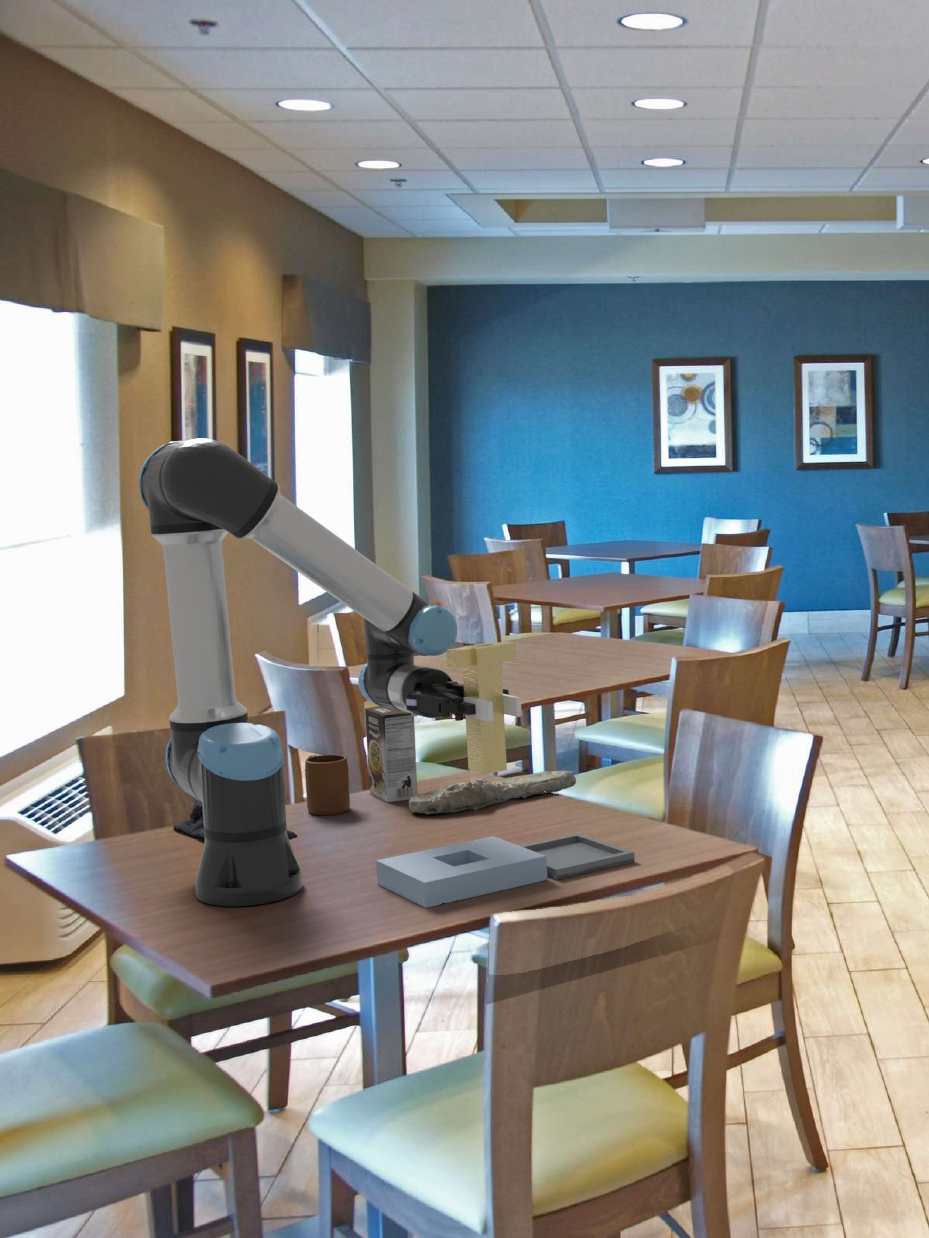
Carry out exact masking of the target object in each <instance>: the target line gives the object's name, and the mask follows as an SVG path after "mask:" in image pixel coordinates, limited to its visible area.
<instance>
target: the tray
mask: <svg viewBox="0 0 929 1238" xmlns="http://www.w3.org/2000/svg"><path fill="white" fill-rule="evenodd" d="M520 846H521V847H524V848H527V849H529V850H532V851H535V852H537V853H540V854H543V855H545V856H546V860H547V878H551V879H553V880H555V881H559V880H564V879H567V878H571V877H576V876H580V875H581V876H582V875H584V874H585V875H586V874H588V873H593V872H598V871H603V870H606V869H610V868H614V867H615V868H616V867H619V866H625V865H628V864H633V863H635V862H636V861H635V851H632V850H629V849H626V848H623V847H621V846H620V847H619V846H617V845H614V844H611V843H608V842H606V841H603V840H600V839H596V838H594V837H591V836H588V835H585V834H582V833H573V834H570V835H569V834H568V835H564V836H559V837H555V838H549V839H545V840H540V841H535V842H532V843H526V844H521V845H520Z"/></svg>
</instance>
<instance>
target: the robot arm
mask: <svg viewBox="0 0 929 1238" xmlns="http://www.w3.org/2000/svg"><path fill="white" fill-rule="evenodd" d="M138 490H139V491H138V492H139V494H140V498H141V500H142V502H143V504H144V506H145V507H146V509H147V510H148V515H149V517H148V518H149V524H150V525H149V527H150V535H151V537H152V538H153V539H155V540H156V542H158V543H159V544H160V545H161V546H162V551H163V553H162V554H163V560H164V570H165V571H164V572H165V583H166V592H167V600H168V601H167V602H168V613H169V620H170V621H169V622H170V624H169V625H170V633H171V642H172V643H171V644H172V653H173V655H172V656H173V663H174V673H175V683H176V694H177V703H178V704H177V707H176V708H175V709H174V710H173V711H172V713H171V714H170V715H169V718H168V720H169V727H170V730H169V731H170V738H169V739H168V742H167V745H166V749H165V764H166V768H167V771H168V774H169V775H170V777H171V779H172V780H173V782H174V784H176V786H177V787H178V789H180V790H181V792H183V793H185V794H187V795H188V796H189V797H191V798H193V799H195V800H199V801H201V802H202V806H203V820H204V834H205V839H204V844H203V847H202V853H201V856H200V861H199V863H198V867H197V872H196V876H195V879H194V880H195V881H194V885H195V897H196V900H197V899H198V900H199V901H200V902H201V903H205V904H208V905H213V906H218V907H219V906H220V907H249V906H257V905H263V904H270V903H272V902H278V901H281V900H284V899H287V898H289V897H292V896H294V895H296V894H297V893H299V891H301V890H302V888H303V877H302V869H301V867H300V864H299V861H298V860H297V859H298V858H297V857H296V854H295V852H294V849H293V846H292V843H291V841H290V839H288V836H287V830H288V829H287V813H286V794H285V779H284V778H285V777H284V773H285V772H284V759H285V756H284V751H283V748H282V742H281V741H282V740H281V738H280V735H279V734H278V733H277V731H276V730H274V729H272V728H271V727H269V726H267V725H263V724H254V723H251V722H249V715H248V708H247V707H246V706H244V705H243V704H242V703H241V702H240V701H239V700H238V699H237V695H236V685H235V684H236V683H235V675H234V665H233V663H234V661H233V652H232V642H231V641H232V640H231V630H230V619H229V610H228V609H229V607H228V599H227V588H226V587H227V586H226V578H225V576H226V575H225V565H224V555H223V553H224V552H223V545H222V544H223V543H222V542H223V540H224V539H225V537H226V536H227V535H228V533H230V534H231V535H232V536H234V537H235V538H237V539H238V540H239V541H241V540H247V539H250V540H252V541H253V542H255V543H256V544H257V545H259V546H260V547H262V548H264V549H265V550H266V551H268V552H269V553H270V554H272V555H274V556H275V557H276V558H277V559H279V560H281V561H282V562H283V563H285V564H286V565H288V566H289V567H291V568H292V569H294V570H295V571H296V572H298V573H299V574H301V575H302V576H303V577H305V578H306V579H308V580H309V581H310V582H312V583H313V584H314V585H316V586H317V587H319V588H320V589H322V590H323V591H325V592H326V593H328V594H329V595H331V596H332V597H333V598H335V599H336V600H338V601H339V602H341V603H342V604H343V605H345V606H346V607H347V608H349V609H351V610H352V611H354V612H355V613H356V614H358V615H359V616H360V617H362V618H363V625H364V627H363V628H364V636H365V637H364V638H365V647H366V663H365V664H364V665H363V667H362V668H361V671H360V673H359V676H358V679H357V680H358V682H357V683H358V689H359V691H360V693H361V695H362V696H363V697H364V699H365V700H367V701H368V702H371V703H372V704H375V705H376V706H377V707H379V706H380V707H384V708H391V709H396V710H400V711H404V712H409V713H412V716H413V717H414V718H417V717H419V716H420V717H423V718H427V719H434V718H435V719H436V718H439V717H441V718H442V717H444V718H448V717H450V716H451V714H452V715H453V716H454V721H456V722H457V721H458V722H459V721H460V722H461V721H464V716H465V717H466V716H467V717H471V718H475V719H479V720H483V721H488V722H491V721H493V703H492V702H491V701H486V700H481V699H476V698H471V697H464V683H458V681H453V680H452V678H451V677H450V676H449V675H448V673H446V672H445V671H443V670H442V669H438V668H431V667H428V666H424V665H417V664H415V657H414V655H415V654H418V655H419V656H421V657H428V656H429V657H430V656H431V657H432V656H433V657H437V656H440V655H443V654H446V653H447V652H446V650H447V649H452V647H453V646H454V644H455V642H456V640H457V637H458V623H457V621H456V618H455V616H454V615H453V613H452V612H451V611H449V610H448V609H446V608H444V607H441V606H440V605H438V604H430V603H429V602H428V601H427V600H425V599H424V598H423V597H421V596H419V595H418V594H416V592H414V591H412V590H411V589H410V588H409V587H408V586H406V585H405V584H403V583H402V582H400V581H399V580H398V579H397V578H395V577H393V576H392V575H391V574H390V573H388V572H387V571H385V570H384V569H383V568H381V567H380V566H379V565H377V564H376V563H374V561H372V560H371V559H369V558H368V557H366V556H365V555H364V554H362V553H361V552H360V551H358V550H357V549H355V548H354V547H352V546H351V545H350V544H348V543H347V542H346V541H344V540H343V539H342V538H341V537H339V536H338V535H337V534H335V533H333V532H332V531H331V530H330V529H328V528H327V527H326V526H324V525H323V524H321V523H320V522H319V521H317V520H316V519H315V518H313V517H312V516H311V515H309V514H308V513H306V511H304V510H302V509H301V508H299V507H298V506H296V505H295V504H294V503H293V502H291V501H290V500H288V499H287V498H286V497H285V496H283V495H282V494H281V487H280V484H279V483H277V482H276V481H275V480H273V479H272V478H271V477H269V476H268V475H267V474H265V473H264V472H263V471H262V470H261V469H260V468H258V467H257V466H256V465H254V464H253V463H251V462H250V461H249V460H248V459H246V458H245V457H244V456H243V455H241V454H239V453H238V452H237V451H235V450H234V449H233V448H231V447H230V446H229V445H227V444H226V443H225V444H224V443H222V442H220V441H219V440H218V441H217V440H215V439H212V438H206V437H205V438H203V437H201V438H193V439H188V440H177V441H170V442H168V443H166V444H163V445H161V446H159V447H158V448H156V449H155V450H154V451H152V452H151V453H150V454H149V456H148V457H147V458H146V459H145V460H144V462H143V464H142V466H141V468H140V472H139V475H138ZM503 706H504V715H507V716H511V717H515V718H520V717H522V716H523V714H522V697H521V696H515V695H511V694H510V693H509V689H506V688H503Z"/></svg>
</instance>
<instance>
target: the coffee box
mask: <svg viewBox="0 0 929 1238" xmlns="http://www.w3.org/2000/svg"><path fill="white" fill-rule="evenodd" d="M364 715H365V716H364V717H365V733H366V735H365V736H366V750H367V752H366V753H367V768H368V785H369V786H368V787H369V794H370V795H373V796H375V797H377V798H378V799H380V800H381V801H383V802H385V803H394V802H401V801H402V802H403V801H407V800H408V801H409V800H410V798H412V797H414V796H418V782H417V780H418V779H417V778H418V777H417V753H416V752H417V751H416V750H417V749H416V730H415V729H416V728H415V726H416V725H415V717H413V716H412V713H409V712H404V711H400V710H396V709H391V708H384V707H380V706H373V707H366V708H364Z"/></svg>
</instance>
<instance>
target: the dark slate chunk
mask: <svg viewBox="0 0 929 1238" xmlns="http://www.w3.org/2000/svg"><path fill="white" fill-rule="evenodd" d="M189 816H190V817H189V819H188V820H184V821H181V822H179V823H176V824H173V825H172V827H173V829H174V828H176V829H179V830H178V831H181V832H183V833H184V832H185V833H184V834H186V835H188V836H191V837H194V838H197V837H198V838H197V839H203V838H204V840H205V834H204V820H203V806H202V802H201V801H199V800H198V799H195V800H194V802H193V808H192V812H191V813H190V815H189ZM176 829H175V830H176ZM287 836H288V839H289V840H290V839H292V838H297V837H298V834H296V833H295V832H294V831H292V830H288V829H287Z"/></svg>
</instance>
